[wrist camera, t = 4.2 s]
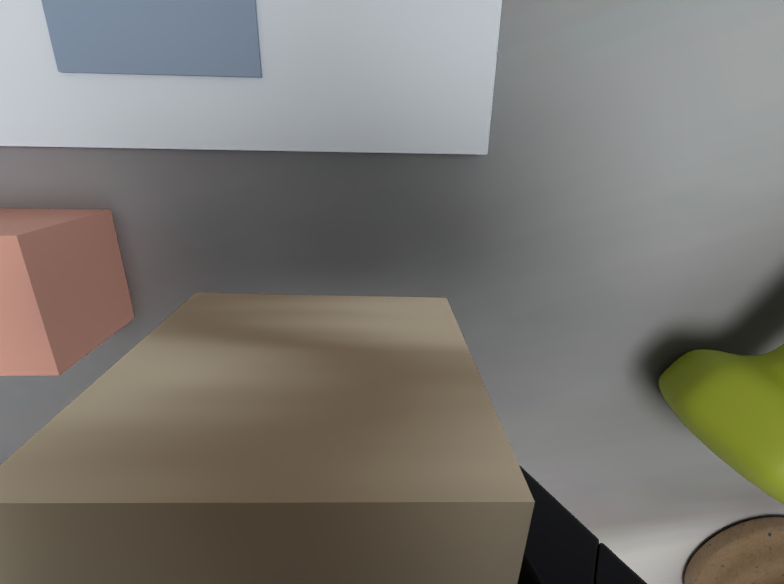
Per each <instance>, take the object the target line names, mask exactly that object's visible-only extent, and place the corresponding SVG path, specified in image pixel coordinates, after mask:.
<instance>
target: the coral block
mask: <svg viewBox="0 0 784 584" xmlns="http://www.w3.org/2000/svg"><path fill="white" fill-rule="evenodd" d="M134 318H135V317H134V312H133V308H132V303H131V299H130V294H129V290H128V285H127V281H126V276H125V272H124V267H123V263H122V258H121V254H120V249H119V244H118V240H117V235H116V231H115V226H114V222H113V217H112V213H111V209H16V208H0V376H51V375H60V374H62V373H63V372H64V371H66V370H67V369H68V368H70V367H71V366H72V365H74V364H75V363H76V362H78V361H79V360H80V359H82V358H83V357H84V356H85V355H87V354H88V353H89V352H91V351H92V350H93V349H95V348H96V347H97V346H99V345H100V344H101V343H103V342H104V341H105V340H107V339H108V338H109V337H110V336H112V335H113V334H114V333H116V332H117V331H118V330H120V329H121V328H122V327H124V326H125V325H126V324H128V323H129V322H130V321H132V320H133V319H134Z"/></svg>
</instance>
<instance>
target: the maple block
mask: <svg viewBox="0 0 784 584" xmlns="http://www.w3.org/2000/svg"><path fill="white" fill-rule="evenodd" d="M534 503H535V501H534V499H533V496H532V494H531V492H530V490H529V487H528V485H527V483H526V480H525V478H524V476H523V473H522V471H521V469H520V466H519V464H518V462H517V460H516V457H515V455H514V453H513V450H512V448H511V446H510V443H509V441H508V439H507V436H506V434H505V432H504V430H503V427H502V425H501V423H500V420H499V418H498V416H497V413H496V411H495V409H494V406H493V404H492V402H491V400H490V397H489V395H488V393H487V390H486V388H485V386H484V383H483V381H482V379H481V376H480V374H479V372H478V369H477V367H476V365H475V363H474V360H473V358H472V356H471V353H470V351H469V349H468V346H467V344H466V342H465V339H464V337H463V335H462V333H461V330H460V328H459V326H458V323H457V321H456V319H455V316H454V314H453V312H452V309H451V307H450V305H449V303H448V300H447V298H429V297H381V296H334V295H287V294H239V293H195V294H193V295H192V296H191V297H190V298H189V299H188V300H187V301H185V302H184V303H183V304H182V305H181V306H180V307H179V308H178V309H176V310H175V311H174V312H173V313H172V314H171V315H170V316H168V317H167V318H166V319H165V320H164V321H163V322H162V323H161V324H159V325H158V326H157V327H156V328H155V329H154V330H153V331H151V332H150V333H149V334H148V335H147V336H146V337H145V338H143V339H142V340H141V341H140V342H139V343H138V344H137V345H136V346H134V347H133V348H132V349H131V350H130V351H129V352H128V353H126V354H125V355H124V356H123V357H122V358H121V359H120V360H119V361H117V362H116V363H115V364H114V365H113V366H112V367H111V368H109V369H108V370H107V371H106V372H105V373H104V374H103V375H102V376H100V377H99V378H98V379H97V380H96V381H95V382H94V383H92V384H91V385H90V386H89V387H88V388H87V389H86V390H85V391H83V392H82V393H81V394H80V395H79V396H78V397H77V398H75V399H74V400H73V401H72V402H71V403H70V404H69V405H67V406H66V407H65V408H64V409H63V410H62V411H61V412H60V413H58V414H57V415H56V416H55V417H54V418H53V419H52V420H50V421H49V422H48V423H47V424H46V425H45V426H44V427H43V428H41V429H40V430H39V431H38V432H37V433H36V434H35V435H33V436H32V437H31V438H30V439H29V440H28V441H27V442H26V443H24V444H23V445H22V446H21V447H20V448H19V449H18V450H16V451H15V452H14V453H13V454H12V455H11V456H10V457H8V458H7V459H6V460H5V461H4V462H3V463H2V464H1V465H0V584H517V583H518V579H519V574H520V569H521V565H522V560H523V555H524V550H525V546H526V541H527V536H528V532H529V527H530V522H531V518H532V513H533V508H534Z"/></svg>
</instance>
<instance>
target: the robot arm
mask: <svg viewBox="0 0 784 584" xmlns="http://www.w3.org/2000/svg"><path fill="white" fill-rule="evenodd" d="M519 466H520V465H519ZM520 469H521V471H522V473H523V476H524V478H525V480H526V483H527V485H528V487H529V490H530V492H531V494H532V496H533V499H534V501H535V503H534V508H533V513H532V518H531V522H530V527H529V532H528V536H527V541H526V546H525V550H524V555H523V560H522V565H521V569H520V574H519V579H518V583H517V584H647V583H646V582H645V581H644V580H643V579H641V578H640V577H639V576H638V575H637V574H636V573H635V572H634V571H633V570H631V569H630V568H629V567H628V566H627V565H626V564H625V563H624V562H623V561H621V560H620V559H619V558H618V557H617V556H616V555H615V554H614V553H613V552H612V551H611V550H610V549H609V548H608V547H607V546H605V545H604V544H603V543H600V544H599V540H598V538H597V537H596V536H595V535H593V534H592V533H591V532H590V531H589V530H588V529H587V528H586V527H585V526H584V525H583V524H582V523H581V522H580V521H579V520H577V519H576V518H575V517H574V516H573V515H572V514H571V513H570V512H569V511H568V510H567V509H566V508H565V507H564V506H562V505H561V504H560V503H559V502H558V501H557V500H556V499H555V498H554V497H553V496H552V495H551V494H550V493H549V492H548V491H546V490H545V489H544V488H543V487H542V486H541V485H540V484H539V483H538V482H537V481H536V480H535V479H534V478H533V477H532V476H530V475H529V474H528V473H527V472H526V471H525V470H524V469H523V468H522V467H521V466H520Z"/></svg>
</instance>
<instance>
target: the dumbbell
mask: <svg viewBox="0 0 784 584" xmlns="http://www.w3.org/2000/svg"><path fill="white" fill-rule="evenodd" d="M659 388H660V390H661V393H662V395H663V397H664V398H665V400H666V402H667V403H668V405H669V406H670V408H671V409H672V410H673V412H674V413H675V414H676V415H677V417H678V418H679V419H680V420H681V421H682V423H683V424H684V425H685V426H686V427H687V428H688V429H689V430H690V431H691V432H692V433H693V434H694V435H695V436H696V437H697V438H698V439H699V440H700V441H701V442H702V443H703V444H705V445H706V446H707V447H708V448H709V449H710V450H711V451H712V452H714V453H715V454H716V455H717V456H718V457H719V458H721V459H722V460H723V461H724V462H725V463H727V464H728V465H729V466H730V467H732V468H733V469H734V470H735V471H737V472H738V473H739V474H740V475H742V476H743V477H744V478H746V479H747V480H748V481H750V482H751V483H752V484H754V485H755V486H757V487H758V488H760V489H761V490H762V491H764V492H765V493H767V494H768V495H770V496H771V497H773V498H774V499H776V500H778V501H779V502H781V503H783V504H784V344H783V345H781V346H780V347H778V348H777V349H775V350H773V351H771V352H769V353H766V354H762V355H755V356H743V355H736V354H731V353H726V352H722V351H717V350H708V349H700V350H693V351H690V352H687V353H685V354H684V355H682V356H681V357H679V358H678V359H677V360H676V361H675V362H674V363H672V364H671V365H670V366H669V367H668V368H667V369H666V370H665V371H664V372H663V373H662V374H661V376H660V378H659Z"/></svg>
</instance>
